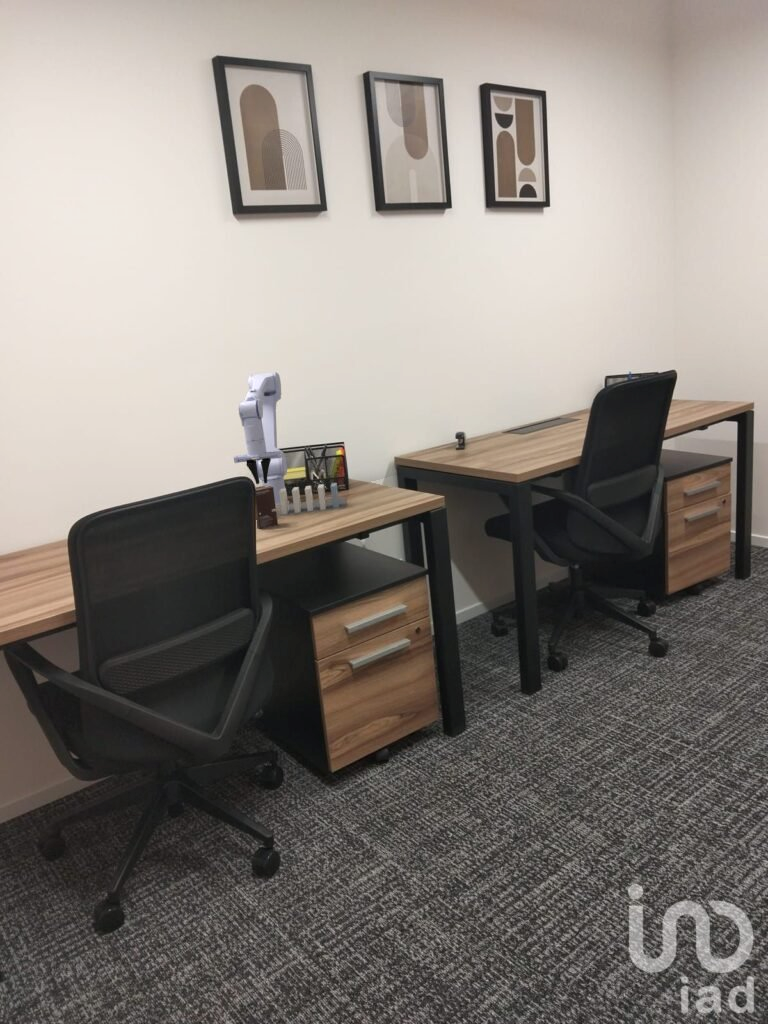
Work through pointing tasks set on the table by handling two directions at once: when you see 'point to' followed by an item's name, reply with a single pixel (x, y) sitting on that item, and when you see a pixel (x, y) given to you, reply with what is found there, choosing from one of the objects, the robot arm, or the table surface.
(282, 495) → the tile
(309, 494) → the tile
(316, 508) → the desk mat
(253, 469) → the robot arm
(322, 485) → the tile
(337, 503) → the end tile
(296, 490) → the tile
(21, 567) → the table surface
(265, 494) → the box
